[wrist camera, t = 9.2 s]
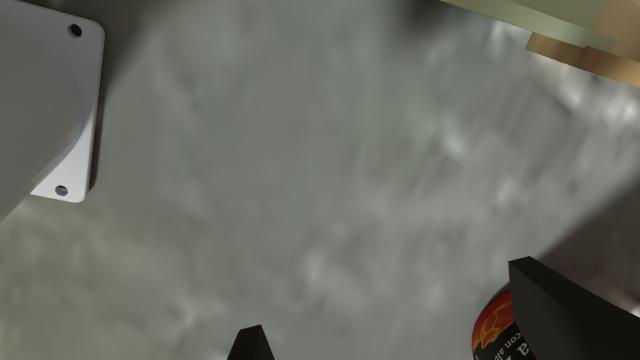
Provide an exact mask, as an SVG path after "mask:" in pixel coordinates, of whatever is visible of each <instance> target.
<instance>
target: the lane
mask: <svg viewBox="0 0 640 360" xmlns="http://www.w3.org/2000/svg"><path fill="white" fill-rule="evenodd" d="M592 31H593V32H596V33H599V34H601V35H604V36H607V37H609V38H612V39H615V40H617V42H616V44H615V45H614V47H613V49H612V51H611V53H608V52H605V51H602V50H599V49H596V48H593V47H590V46H586V47H585V48H582V47H579V46H575V45H572V44H568V43H565V42H562V41H559V40H556V39H553V38H550V37H547V36H544V35H541V34H538V33H535V32H533V34H532V36H531V38H530V40H529V42H528V44H527V47H526V50H529V51H532V52H534V53H537V54H540V55H543V56H546V57H548V58H551V59H554V60H557V61H559V62H562V63H565V64H568V65H570V66H573V67H576V68H579V69H582V70H585V71H588V72H591V73H595V74H598V75H601V76H604V77H607V78H610V79H614V80H617V81H620V82H623V83H626V84H629V85H633V86H636V87H639V88H640V0H607V1H606V3H605V5H604V7H603V9H602V11H601V13H600V15H599V17H598V19H597V21H596V23H595V25H594V27H593V29H592Z"/></svg>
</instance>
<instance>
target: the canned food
mask: <svg viewBox="0 0 640 360" xmlns="http://www.w3.org/2000/svg"><path fill="white" fill-rule="evenodd" d="M472 352H473V358H474V360H537V358H536V357H535V355H534V354H533V352H532V351H531V349H530V348H529V346H528V344H527V342H526V341H525V339H524V337H523V335H522V333H521V332H520V330H519V328H518V326H517V324H516V322H515V320H514V318H513V316H512V305H511V291H508V292H506V293H504V294H503V295H501V296H500V297H498V298H497V299H495V300H494V301H493V302H492V303H491V304H490V305H489V306H488V307H487V308H486V309H485V310H484V311H483V313H482V314H481V315H480V317H479V318H478V320H477V322H476V324H475V326H474V330H473V334H472Z"/></svg>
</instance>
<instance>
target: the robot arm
mask: <svg viewBox="0 0 640 360" xmlns="http://www.w3.org/2000/svg"><path fill="white" fill-rule="evenodd" d="M72 24H76V25H78V26H79V27H80V28H81V30H82V34H81V36H80V37H78V36H76V35H74V34H73V32H72V30H71V26H72ZM104 41H105V33H104V30H103V28H102V27H101V26H100V25H99V24H98V23H97V22H95V21H93V20H89V19H85V18H82V17H78V16H74V15H71V14H67V13H63V12H60V11H56V10H52V9H49V8H45V7H41V6H38V5H34V4H30V3H26V2H23V1H19V0H0V222H1V221H2V220H3V219H4V218H5V217H7V216H8V215H9V214H10V213H11V212H12V211H13V210H14V209H15V208H16V207H17V206H18V205H19V204H20V203H21V202H22V201H23V200H24V199H25V198H26V197H27V196H28V195H29V194H33V195H38V196H43V197H48V198H53V199H58V200H63V201H68V202H75V203H78V202H81V201H83V200H84V199H85V197H86V196H87V194H88V190H89V181H90V171H91V162H92V153H93V143H94V134H95V125H96V115H97V106H98V97H99V87H100V78H101V69H102V59H103V50H104ZM59 185H62V186H64V187H66V188H67V190H68V192H63V191H61V190H60V189H59ZM508 264H509V278H510V291H511V305H512V316H513V318H514V320H515V322H516V324H517V326H518V328H519V330H520V332H521V333H522V335H523V337H524V339H525V341H526V342H527V344H528V346H529V348H530V349H531V351H532V352H533V354H534V355H535V357H536V358H537V360H640V318H639V317H637V316H635V315H633V314H631V313H629V312H627V311H625V310H623V309H621V308H619V307H617V306H615V305H613V304H611V303H609V302H608V301H606V300H604V299H602V298H600V297H598V296H596V295H595V294H593V293H591V292H589V291H588V290H586V289H584V288H582V287H580V286H579V285H577V284H575V283H574V282H572V281H570V280H569V279H567V278H565V277H563V276H562V275H560V274H558V273H557V272H555V271H553V270H552V269H550V268H549V267H547V266H545V265H544V264H542V263H540V262H539V261H537V260H535V259H534V258H532V257H530V256H528V257H524V258H520V259H516V260H512V261H508ZM227 360H275V359H274V357H273V354H272V351H271V349H270V346H269V344H268V341H267V339H266V336H265V334H264V331H263V328H262V326H261V325H257V326H253V327H249V328H245V329H241V330H240V331H239V332H238V334H237V337H236V339H235V342H234V344H233V346H232V349H231V351H230V354H229V356H228V358H227Z"/></svg>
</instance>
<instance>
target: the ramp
mask: <svg viewBox="0 0 640 360" xmlns="http://www.w3.org/2000/svg"><path fill="white" fill-rule="evenodd" d="M440 1H443V2H446V3H449V4H452V5H455V6H457V7H460V8H463V9H466V10H469V11H472V12H475V13H478V14H481V15H484V16H487V17H490V18H493V19H496V20H499V21H502V22H505V23H508V24H511V25H514V26H517V27H520V28H523V29H526V30H529V31H532V32H535V33H538V34H541V35H544V36H547V37H550V38H553V39H556V40H559V41H562V42H565V43H568V44H572V45H575V46H579V47H582V48H585V47H586V46H590V47H593V48H596V49H599V50H602V51H605V52H608V53H611V51H612V49H613V47H614V45H615V44H616V42H617V40H615V39H612V38H609V37H607V36H604V35H601V34H599V33H596V32H593V31H592V29H593V27H594V25H595V23H596V21H597V19H598V17H599V15H600V13H601V11H602V9H603V7H604V5H605V3H606V1H607V0H440Z"/></svg>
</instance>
